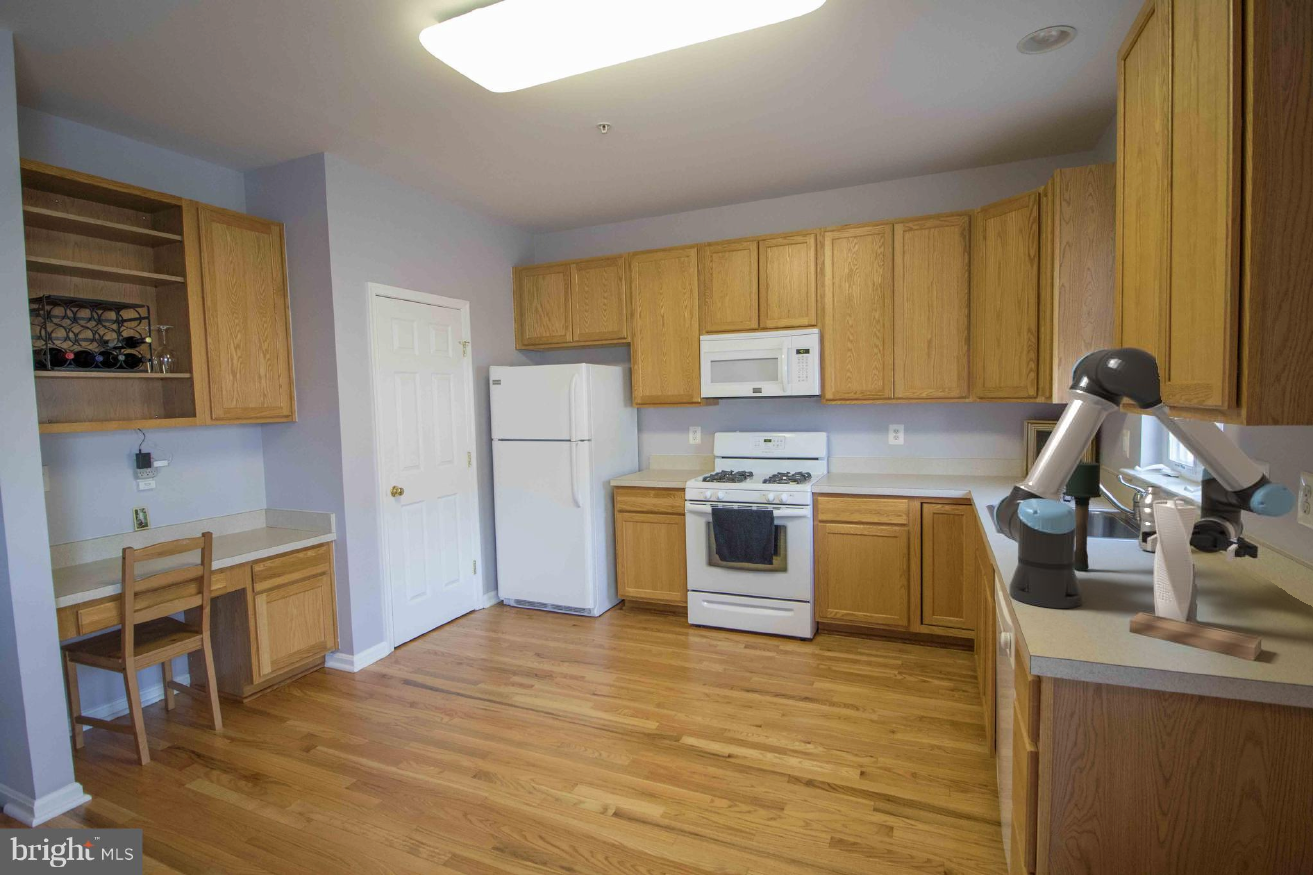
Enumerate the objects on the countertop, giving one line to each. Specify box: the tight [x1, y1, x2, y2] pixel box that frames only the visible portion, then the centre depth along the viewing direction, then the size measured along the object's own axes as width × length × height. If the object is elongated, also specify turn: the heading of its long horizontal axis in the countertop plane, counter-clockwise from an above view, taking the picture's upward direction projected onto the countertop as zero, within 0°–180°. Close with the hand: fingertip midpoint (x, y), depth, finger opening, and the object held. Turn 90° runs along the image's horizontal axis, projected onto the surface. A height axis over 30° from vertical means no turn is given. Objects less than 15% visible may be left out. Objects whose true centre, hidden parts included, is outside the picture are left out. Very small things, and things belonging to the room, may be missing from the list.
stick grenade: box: [1063, 461, 1102, 572], centre depth 174 cm, size 8×9×30 cm
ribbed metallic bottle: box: [1137, 485, 1167, 553], centre depth 192 cm, size 6×7×20 cm
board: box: [1128, 611, 1262, 661], centre depth 126 cm, size 19×7×3 cm, turn 38°
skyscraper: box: [1153, 495, 1199, 624], centre depth 134 cm, size 8×8×28 cm
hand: (1187, 550), depth 138 cm, fingers open, 13 cm apart
